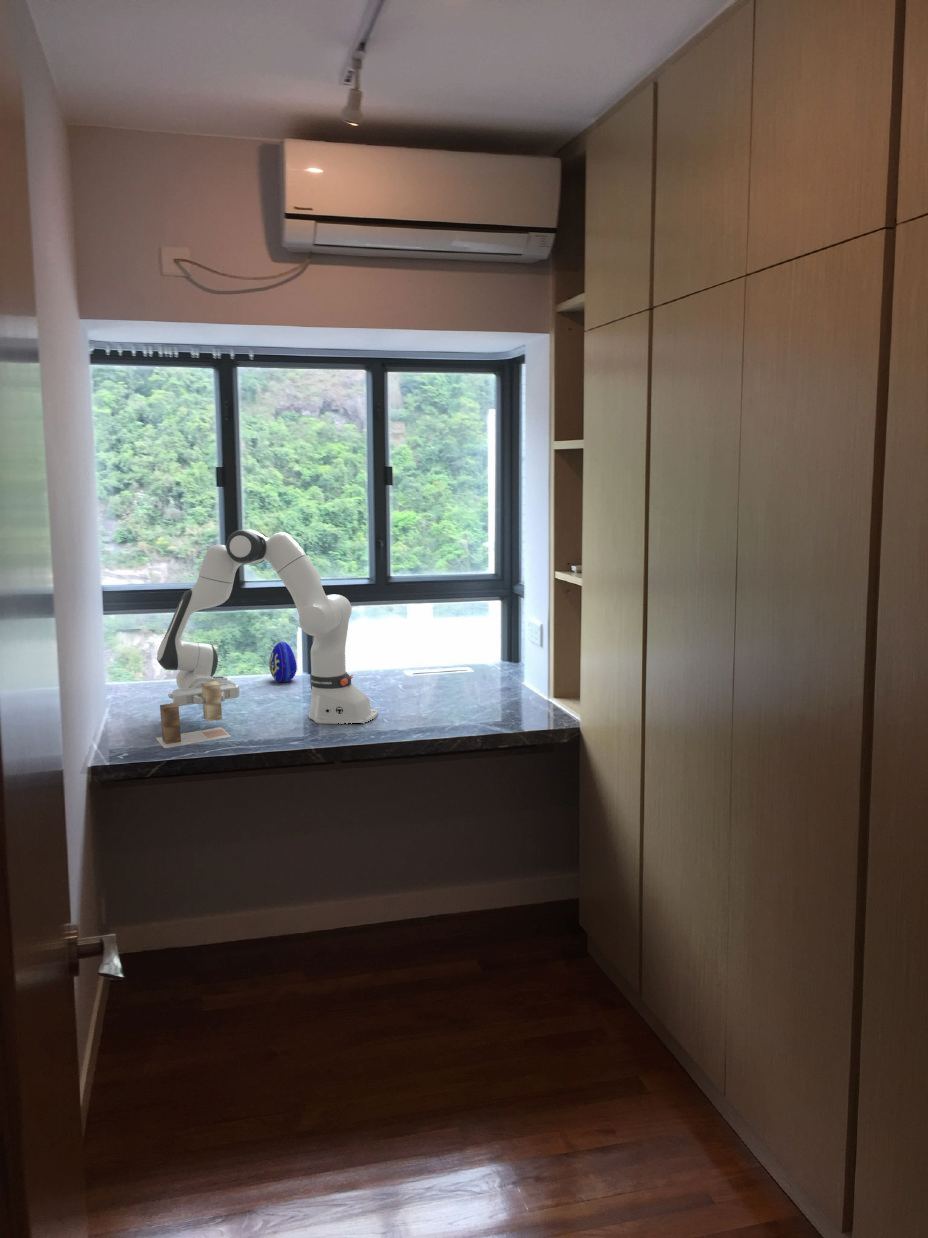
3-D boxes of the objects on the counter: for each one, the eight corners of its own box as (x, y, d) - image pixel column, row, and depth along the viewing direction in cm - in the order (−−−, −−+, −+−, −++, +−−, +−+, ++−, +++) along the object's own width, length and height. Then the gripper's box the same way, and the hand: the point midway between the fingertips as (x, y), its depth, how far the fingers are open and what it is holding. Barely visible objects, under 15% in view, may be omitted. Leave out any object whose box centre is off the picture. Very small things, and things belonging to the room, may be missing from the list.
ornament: (266, 680, 353) (263, 641, 350) (288, 676, 358) (286, 637, 356) (279, 686, 344) (277, 646, 341) (302, 682, 350) (300, 642, 347)
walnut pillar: (177, 737, 286) (174, 702, 284) (181, 741, 282) (178, 706, 280) (162, 740, 284) (159, 705, 281) (166, 744, 280) (163, 708, 278)
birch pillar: (217, 715, 292) (216, 681, 289) (222, 719, 288) (220, 684, 286) (203, 717, 289) (201, 683, 287) (207, 721, 286) (205, 686, 283)
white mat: (220, 728, 296) (220, 726, 296) (231, 738, 287) (231, 736, 287) (155, 740, 286) (155, 738, 286) (164, 750, 277) (164, 748, 277)
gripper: (165, 684, 292) (177, 695, 281) (230, 675, 303) (244, 685, 291) (167, 704, 294) (178, 715, 282) (231, 694, 304) (245, 705, 292)
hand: (212, 700), depth 287 cm, fingers closed on birch pillar, 4 cm apart
